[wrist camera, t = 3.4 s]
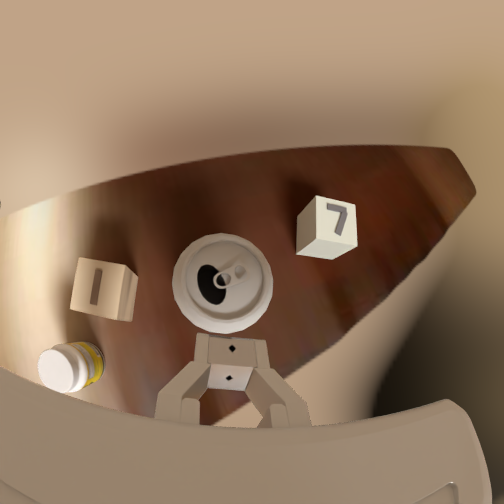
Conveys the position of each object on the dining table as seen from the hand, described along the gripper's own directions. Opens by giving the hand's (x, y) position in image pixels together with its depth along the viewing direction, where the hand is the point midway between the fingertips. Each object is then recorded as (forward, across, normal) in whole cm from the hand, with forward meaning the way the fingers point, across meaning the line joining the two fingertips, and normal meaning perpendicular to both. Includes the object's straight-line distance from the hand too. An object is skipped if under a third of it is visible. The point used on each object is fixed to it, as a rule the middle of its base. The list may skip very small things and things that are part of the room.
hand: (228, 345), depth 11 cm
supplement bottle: (+9, +14, +17) cm, 23 cm away
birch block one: (+14, +11, +11) cm, 21 cm away
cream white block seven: (+22, -12, +3) cm, 25 cm away
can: (+16, 0, +10) cm, 18 cm away
